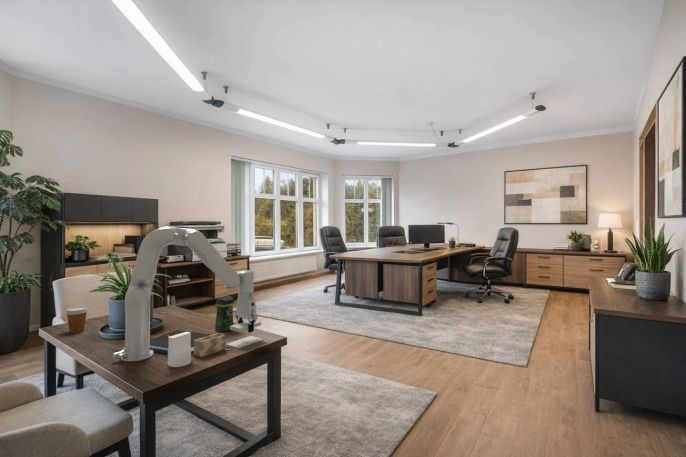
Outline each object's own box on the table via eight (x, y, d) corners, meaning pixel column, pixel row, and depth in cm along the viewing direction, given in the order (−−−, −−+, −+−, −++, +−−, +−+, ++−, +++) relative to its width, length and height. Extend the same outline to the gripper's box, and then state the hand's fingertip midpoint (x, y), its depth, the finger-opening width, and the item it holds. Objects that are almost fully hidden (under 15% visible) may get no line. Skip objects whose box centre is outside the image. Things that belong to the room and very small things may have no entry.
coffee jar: (223, 333, 193) (223, 299, 193) (212, 330, 196) (213, 297, 196) (236, 328, 202) (236, 295, 201) (225, 326, 205) (226, 294, 205)
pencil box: (200, 357, 158) (200, 342, 158) (194, 355, 161) (194, 339, 161) (225, 349, 169) (225, 334, 169) (218, 347, 171) (218, 332, 171)
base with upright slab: (176, 368, 146) (177, 339, 146) (163, 364, 150) (163, 335, 150) (195, 361, 154) (195, 333, 154) (181, 357, 158) (182, 330, 158)
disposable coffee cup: (70, 328, 195) (70, 307, 194) (90, 327, 198) (90, 306, 197) (62, 334, 186) (62, 311, 185) (83, 333, 188) (83, 310, 188)
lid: (239, 332, 172) (239, 328, 172) (229, 329, 175) (229, 326, 175) (261, 325, 183) (261, 321, 183) (251, 323, 187) (251, 319, 187)
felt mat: (238, 348, 170) (238, 347, 170) (226, 344, 175) (226, 343, 175) (263, 339, 183) (263, 339, 183) (251, 336, 188) (251, 335, 188)
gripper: (263, 296, 177) (263, 331, 178) (240, 291, 187) (240, 325, 187) (252, 298, 171) (251, 335, 171) (228, 294, 181) (228, 329, 181)
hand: (245, 330), depth 179 cm, fingers closed on lid, 7 cm apart
